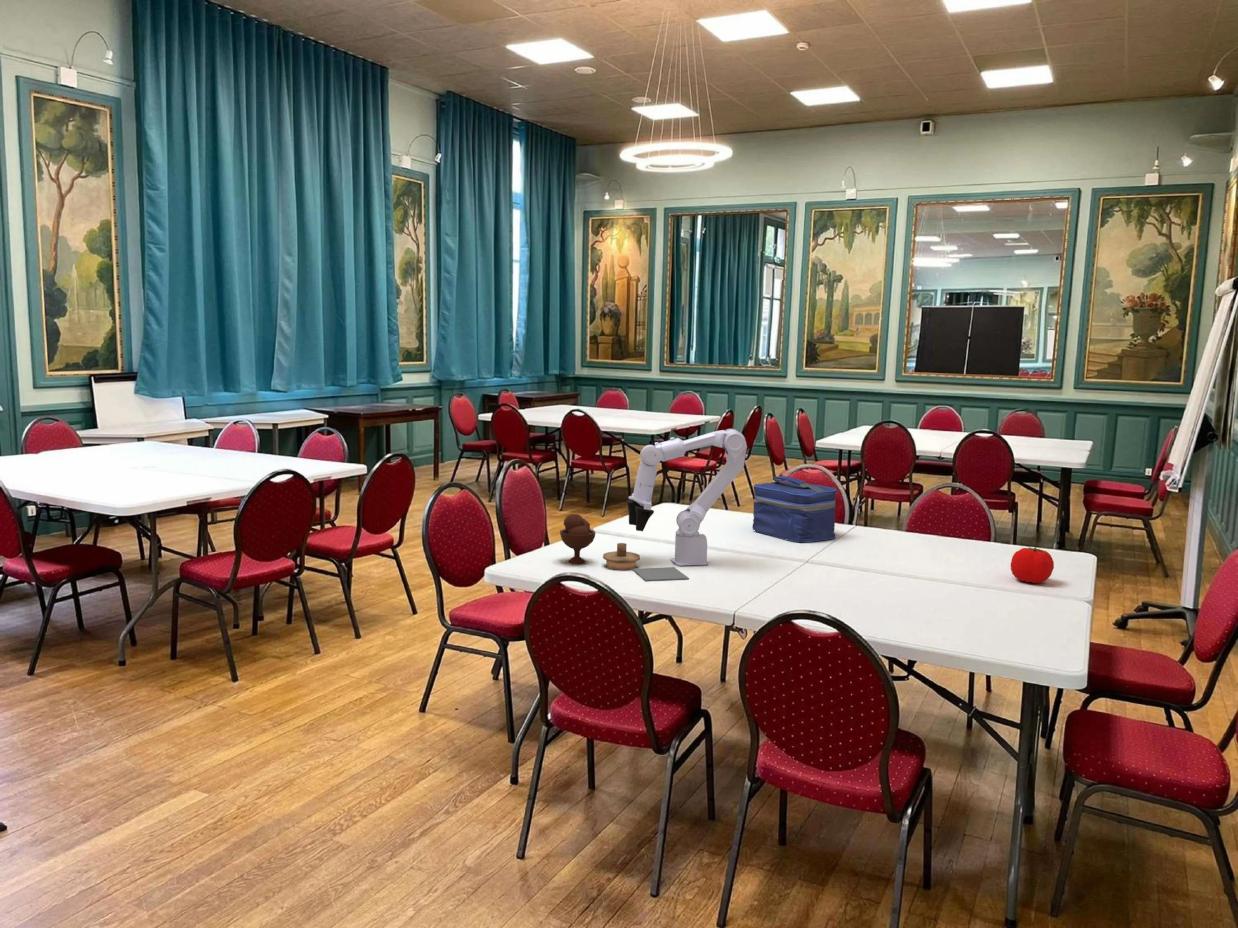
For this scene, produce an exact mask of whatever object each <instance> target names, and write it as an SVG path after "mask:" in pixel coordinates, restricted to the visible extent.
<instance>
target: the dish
mask: <svg viewBox="0 0 1238 928" xmlns="http://www.w3.org/2000/svg"><path fill="white" fill-rule="evenodd" d="M605 561H606V563H605V567H606V568H608V569H611V570H617V571H629V570H632V569H637V561H635V562H625V563H622V562H611V561H607V560H605Z"/></svg>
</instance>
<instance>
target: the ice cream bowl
mask: <svg viewBox="0 0 1238 928" xmlns="http://www.w3.org/2000/svg"><path fill="white" fill-rule="evenodd" d="M590 524H591V523H590V522H588V521H587V520H586V519H585V518H583V516H581V515H580V514H579V513H571V514H568V515H567V516H566V517H565V518H564V521H563V526H564V527H565V528H564V529H560V530H559V534H560V539H561V541H562V543H564V544H565V546H567V547H568V548H570V549H572V550H573V552H574V554H573V557H571V558H569V559H568V560H567V563H568V564H570V563H571V565H576V566H577V565H584V564H586V563H587V562H586V559H585V558H583V557H581V553H580V552H581V550H582V549H585V548H587V547H588V546H590V545H591V544H592V543H593V542H594V541H595V538H596V531H595V530H594V529H591V525H590Z"/></svg>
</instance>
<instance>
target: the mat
mask: <svg viewBox="0 0 1238 928" xmlns="http://www.w3.org/2000/svg"><path fill="white" fill-rule="evenodd" d="M631 571H633V572H634V573H635V574H636V575H637V576H638V577H639V578H640V579H642V580H643V581H644V582H661V581H663V582H664V581H683V580H684V581H685V580H690V578H689V577H688V576H687V575H685V574H684V573H683V572H681V570H679V569H677V568H676V567H674V566H672V567H671V566H666V567H642V568H634V569H631Z"/></svg>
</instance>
